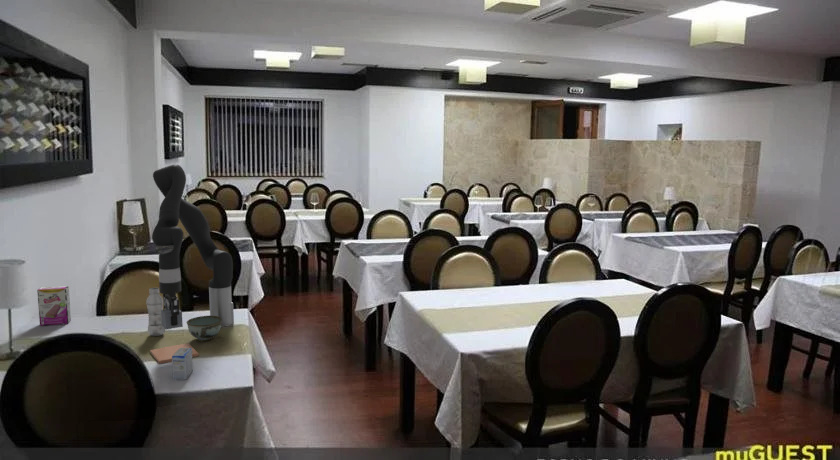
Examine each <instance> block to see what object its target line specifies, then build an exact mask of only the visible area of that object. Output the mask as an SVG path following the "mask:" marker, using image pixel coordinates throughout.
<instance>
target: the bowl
mask: <svg viewBox="0 0 840 460" xmlns="http://www.w3.org/2000/svg"><path fill="white" fill-rule="evenodd" d="M221 321H222V318H221V317H218V316H210V315H202V316H201V315H200V316H196V317H193V318H190V319H188V320H187V321H186V324H187V328H188V331H189V333H190V335H191V336H192V337H193V338H196V339H197V341H199V342H209V341H212V340H213V339H214V337H215V336H216V335H217V334H218V333H219V332H220V330H221V328H222V327H221Z"/></svg>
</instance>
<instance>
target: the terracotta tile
mask: <svg viewBox="0 0 840 460" xmlns="http://www.w3.org/2000/svg"><path fill="white" fill-rule="evenodd" d="M179 348H192V358H196V357H199V352H198V351H197V350H196V349H195V348H194V347H193V346H192V345H191V344H190V343H188V342H187V343H181V344H176V345H175V344H174V345H169V346H165V347H160V348H159V347H158V348H154V349H150V350H149V353H150V354H151V356H152V357H153V358H154V360H156V361H157V363H158V364H165V363H169V362H171V363H172V356H173V355H174V354H175V353H176V352H177V350H178V349H179Z"/></svg>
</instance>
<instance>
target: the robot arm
mask: <svg viewBox="0 0 840 460" xmlns="http://www.w3.org/2000/svg"><path fill="white" fill-rule="evenodd" d="M152 177H153V181H154V183H155V185H156V187H157V188H158V190H159V191H160V193H161V194H162V195H163V197H164V198H163V200H162V202H161V204H160V206H159V211H158V220H157V223H156V225H155V227H154V229H153V231H152V235H151V240H152V242H153V244H154V245H155V246H158V247H163V246H164V247H169V246H170V247H172V248H171V249H170V250H167V251H163V252H161V253H159V254H158V269H159V270H158V285H159V287H158V288H159V294H162V299H163V310H165V309H168V310H169V311H170V316H171V325H172V326H175V325H177V324H178V321H177V315H179V309H180V299H179V298H178V296H177V294H178V293H181V292H182V275H181V274H182V273H181V267H180V265H181V264H180V253H181V249H182V244H183V240H184V231H183V229H182V228H181V227H180V226H178V225H179V222H180V223H181V224H182V226H183V227H184V230H185V231H186V232H187V234H188V235H189V237H190V239H191V240H192V242H193V244H194V245H195V246H196V248H197V250H198V251H199V254H200V256H201V258H202V260H203V262H204V265H205V267H206V268H208V269H209V270H211V271H213V277H212V279H210V280H208V293H209V294H208V295H209V296H208V297H209V298H208V299H209V316H218V317H221V318H222V321H221V328H222V327H227V326H230V325H233V324H235V319H234V317H235V315H234V302H232V300H233V299H232V281H233V273H234V270H233V269H234V267H233V266H234V263H233V262H234V260H233V257H232V255H231V253H229V252H227V251H225V250H220V249H219V248H218V247H217V246H216V244H215V242H214V240H213V239H212V237H211V234H210V233H211V232H210V226H209V222H208V220H207V219H206V217H205V215H204V213H203V212H202V210H201V209H200V208H199V207H198V206H196V205H194V204H193V203H191V202H189V201H187V200H186V199H184V198H183V194H184V190H185V188H186V182H187V175H186V173H185V170H184V168H183V167H182V166H181V165H179V164H177V163H175V164H170V165H168V166H164V167H161V168H158V169H157V170H154V171H153V173H152ZM174 310H175V312H174Z"/></svg>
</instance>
